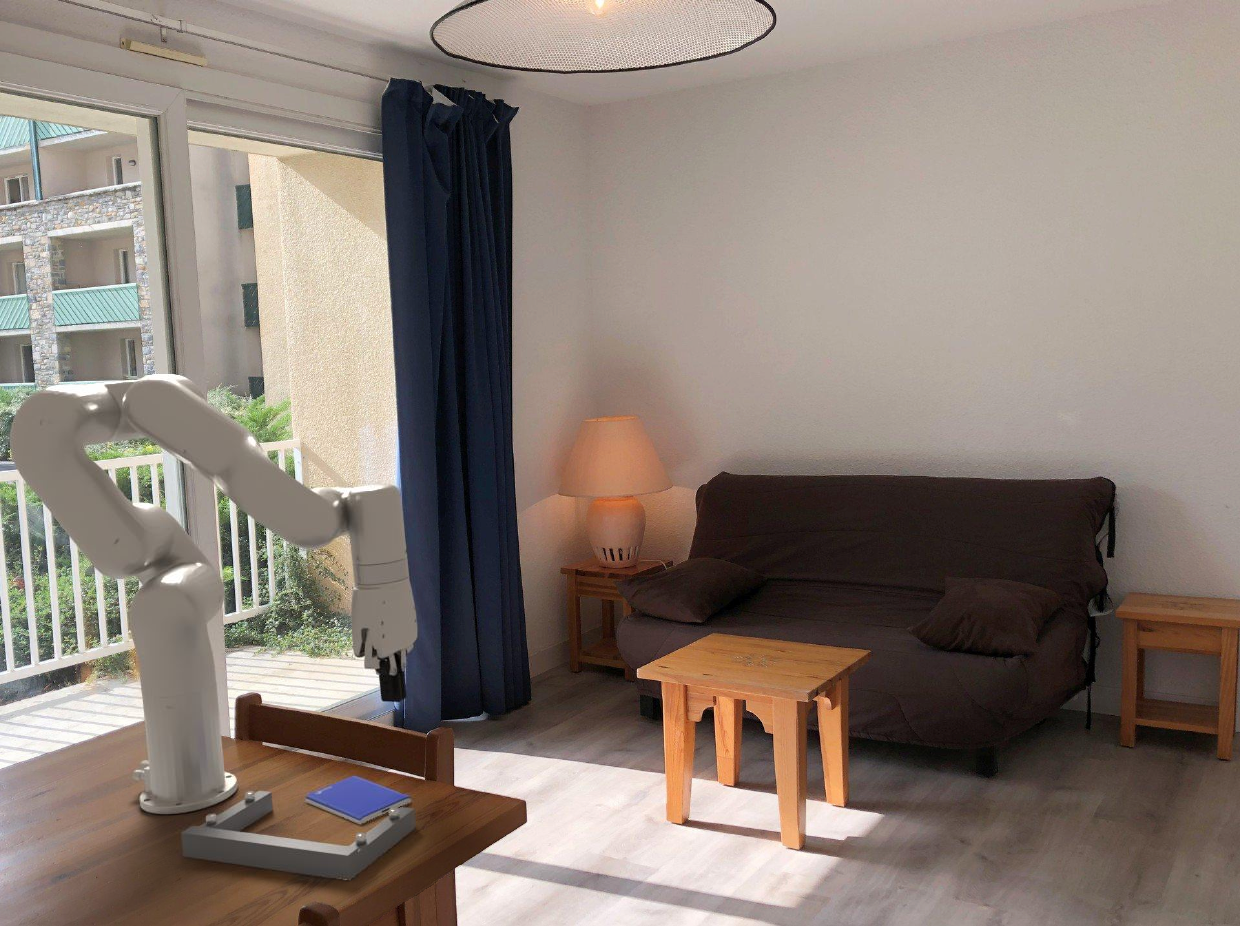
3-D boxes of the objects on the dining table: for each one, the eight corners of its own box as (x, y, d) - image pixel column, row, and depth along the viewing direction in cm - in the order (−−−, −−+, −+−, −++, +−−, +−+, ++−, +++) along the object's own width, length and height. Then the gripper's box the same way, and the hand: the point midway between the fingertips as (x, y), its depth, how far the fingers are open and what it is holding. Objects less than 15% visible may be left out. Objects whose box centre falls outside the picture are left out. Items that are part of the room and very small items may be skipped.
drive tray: (183, 856, 125) (180, 828, 125) (260, 808, 138) (258, 783, 138) (349, 880, 117) (347, 851, 117) (415, 827, 130) (413, 800, 130)
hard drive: (305, 794, 140) (359, 817, 132) (355, 774, 146) (410, 794, 138) (306, 805, 140) (360, 829, 132) (356, 785, 146) (411, 806, 138)
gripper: (388, 562, 153) (400, 682, 155) (326, 584, 139) (340, 716, 141) (432, 561, 150) (444, 684, 152) (373, 584, 136) (387, 719, 138)
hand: (394, 699), depth 146 cm, fingers closed
